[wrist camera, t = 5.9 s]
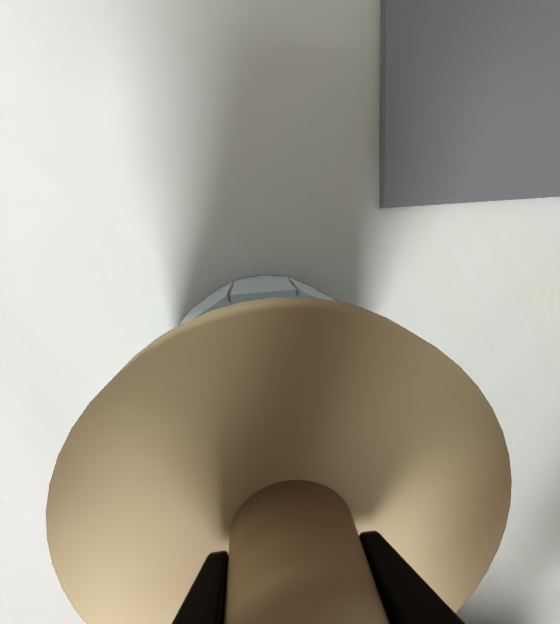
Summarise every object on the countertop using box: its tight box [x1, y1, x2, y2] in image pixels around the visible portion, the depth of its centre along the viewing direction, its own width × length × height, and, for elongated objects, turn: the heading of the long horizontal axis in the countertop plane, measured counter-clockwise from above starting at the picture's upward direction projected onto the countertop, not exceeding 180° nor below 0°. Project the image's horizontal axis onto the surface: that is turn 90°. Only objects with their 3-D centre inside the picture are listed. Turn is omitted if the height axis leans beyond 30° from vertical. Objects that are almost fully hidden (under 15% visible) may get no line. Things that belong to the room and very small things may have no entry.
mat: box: [380, 0, 560, 208], centre depth 15 cm, size 11×11×1 cm
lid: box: [46, 297, 511, 624], centre depth 6 cm, size 11×11×6 cm
